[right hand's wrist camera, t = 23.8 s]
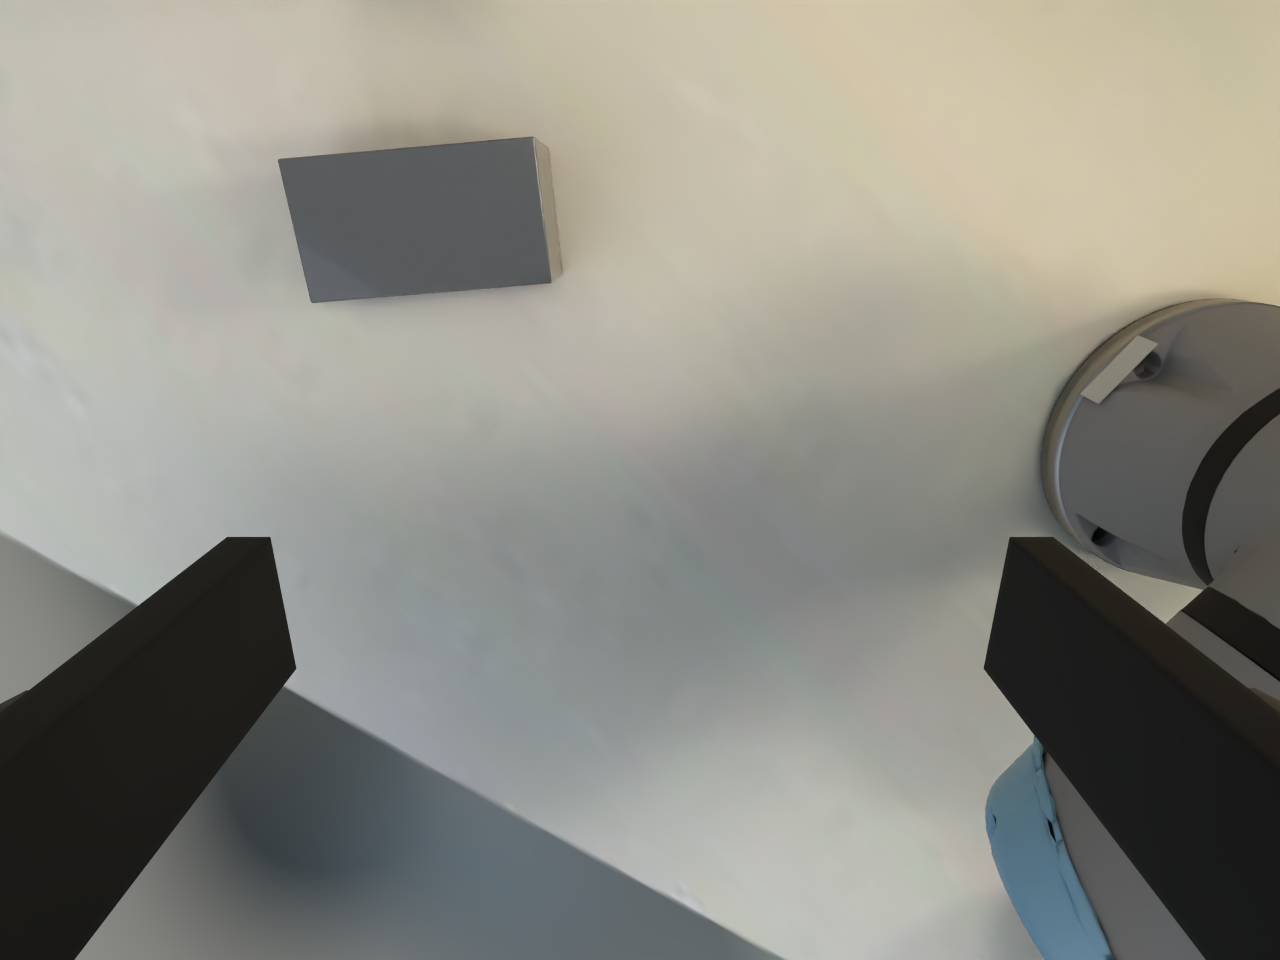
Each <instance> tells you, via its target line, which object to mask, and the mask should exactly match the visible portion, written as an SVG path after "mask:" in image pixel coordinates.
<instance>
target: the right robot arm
mask: <svg viewBox="0 0 1280 960" xmlns="http://www.w3.org/2000/svg"><path fill="white" fill-rule="evenodd" d="M1041 475H1042V482H1043V488H1044V492H1045V495H1046V498H1047V501H1048V504H1049V506H1050V508H1051V510H1052V512H1053V514H1054V516H1055V517H1056V519H1057V521H1058V522H1059V523H1060V524H1061V526H1062V527H1063V528H1064V529H1065V530H1066V531H1067V533H1068V534H1069V535H1070V536H1071V537H1073V538H1074V539H1075V540H1076V541H1078V542H1079V543H1080V544H1082V545H1083V546H1084V547H1086V548H1087V549H1088V550H1090V551H1091V552H1092V553H1094V554H1095V555H1096V556H1098V557H1099V558H1101V559H1103V560H1104V561H1106V562H1108V563H1110V564H1112V565H1114V566H1116V567H1118V568H1121V569H1124V570H1127V571H1130V572H1134V573H1137V574H1141V575H1145V576H1149V577H1153V578H1157V579H1161V580H1165V581H1170V582H1174V583H1178V584H1182V585H1186V586H1190V587H1194V588H1198V589H1202V590H1203V591H1202V592H1201V593H1200V594H1199V595H1198V596H1197V597H1196V598H1195V599H1193V600H1192V601H1191V602H1190V603H1189V604H1188V605H1187V606H1186V607H1185V608H1183V609H1182V610H1181V611H1179V612H1178V613H1177V614H1176V615H1175V616H1174V617H1173V618H1172V619H1170V620H1169V621H1168V622H1167V623H1166V624H1165V623H1163V622H1162V621H1161V620H1159V619H1158V618H1157V617H1155V616H1154V615H1153V614H1152V613H1150V612H1149V611H1148V610H1146V609H1145V608H1144V607H1143V606H1141V605H1140V604H1139V603H1137V602H1136V601H1135V600H1134V599H1132V598H1131V597H1130V596H1128V595H1127V594H1126V593H1124V592H1123V591H1122V590H1121V589H1119V588H1118V587H1117V586H1115V585H1114V584H1113V583H1112V582H1110V581H1109V580H1108V579H1106V578H1105V577H1104V576H1102V575H1101V574H1100V573H1099V572H1097V571H1096V570H1095V569H1093V568H1092V567H1091V566H1090V565H1088V564H1087V563H1086V562H1084V561H1083V560H1082V559H1081V558H1079V557H1078V556H1077V555H1075V554H1074V553H1073V552H1071V551H1070V550H1069V549H1068V548H1066V547H1065V546H1064V545H1062V544H1061V543H1060V542H1059V541H1057V540H1056V539H1055V538H1053V537H1010V538H1009V543H1008V548H1007V554H1006V559H1005V564H1004V569H1003V574H1002V579H1001V584H1000V589H999V594H998V599H997V604H996V609H995V614H994V619H993V624H992V629H991V634H990V639H989V644H988V650H987V655H986V660H985V665H984V670H985V671H986V672H987V674H988V675H989V676H990V677H991V679H992V680H993V681H994V683H995V684H996V685H997V687H998V688H999V689H1000V691H1001V692H1002V693H1003V695H1004V696H1005V697H1006V698H1007V700H1008V701H1009V702H1010V704H1011V705H1012V706H1013V708H1014V709H1015V710H1016V712H1017V713H1018V714H1019V716H1020V717H1021V718H1022V719H1023V721H1024V722H1025V723H1026V725H1027V726H1028V727H1029V729H1030V730H1031V731H1032V733H1033V734H1034V735H1035V736H1034V742H1033V743H1032V744H1031V745H1030V747H1029V748H1028V749H1027V750H1026V751H1025V752H1024V753H1023V754H1022V755H1021V756H1020V757H1019V758H1018V759H1017V760H1016V761H1015V762H1014V763H1013V764H1012V765H1011V766H1010V767H1009V768H1008V769H1007V770H1006V771H1005V772H1004V773H1003V774H1002V775H1001V776H1000V777H999V778H998V779H997V780H996V782H995V783H994V784H993V786H992V788H991V790H990V792H989V796H988V799H987V803H986V812H985V818H986V830H987V834H988V837H989V841H990V844H991V849H992V855H993V858H994V861H995V864H996V867H997V869H998V872H999V875H1000V877H1001V880H1002V882H1003V884H1004V887H1005V889H1006V891H1007V893H1008V895H1009V897H1010V899H1011V901H1012V903H1013V905H1014V907H1015V909H1016V911H1017V913H1018V915H1019V917H1020V919H1021V920H1022V922H1023V924H1024V926H1025V928H1026V929H1027V931H1028V933H1029V935H1030V936H1031V938H1032V940H1033V941H1034V943H1035V945H1036V946H1037V948H1038V949H1039V951H1040V953H1041V954H1042V956H1043V957H1044V959H1045V960H1280V307H1279V306H1275V305H1269V304H1263V303H1256V302H1249V301H1241V300H1234V299H1205V300H1198V301H1191V302H1187V303H1183V304H1178V305H1175V306H1172V307H1169V308H1166V309H1163V310H1160V311H1158V312H1155V313H1153V314H1151V315H1148V316H1146V317H1144V318H1142V319H1140V320H1138V321H1137V322H1135V323H1133V324H1131V325H1130V326H1128V327H1126V328H1125V329H1123V330H1122V331H1120V332H1119V333H1117V334H1116V335H1115V336H1113V337H1112V338H1111V339H1109V340H1108V341H1107V342H1105V343H1104V344H1103V345H1102V346H1101V347H1100V348H1099V349H1098V350H1096V351H1095V352H1094V353H1093V354H1092V355H1091V356H1090V357H1089V358H1088V359H1087V360H1086V361H1085V363H1084V364H1083V365H1082V366H1081V367H1080V368H1079V370H1078V371H1077V372H1076V373H1075V374H1074V376H1073V377H1072V379H1071V380H1070V381H1069V383H1068V384H1067V386H1066V387H1065V389H1064V391H1063V392H1062V394H1061V396H1060V398H1059V399H1058V401H1057V403H1056V405H1055V407H1054V410H1053V412H1052V414H1051V417H1050V420H1049V422H1048V425H1047V428H1046V432H1045V436H1044V440H1043V447H1042V454H1041ZM295 670H296V665H295V660H294V655H293V650H292V644H291V639H290V634H289V629H288V624H287V619H286V614H285V609H284V604H283V599H282V594H281V589H280V584H279V579H278V574H277V569H276V564H275V559H274V554H273V548H272V543H271V538H270V537H227V538H225V539H224V540H223V541H221V542H220V543H219V544H218V545H216V546H215V547H214V548H212V549H211V550H210V551H209V552H207V553H206V554H205V555H203V556H202V557H201V558H199V559H198V560H197V561H196V562H194V563H193V564H192V565H190V566H189V567H188V568H187V569H185V570H184V571H183V572H181V573H180V574H179V575H178V576H176V577H175V578H174V579H172V580H171V581H170V582H168V583H167V584H166V585H165V586H163V587H162V588H161V589H159V590H158V591H157V592H156V593H154V594H153V595H152V596H150V597H149V598H148V599H146V600H145V601H144V602H143V603H141V604H140V605H139V606H137V607H136V608H135V609H134V610H132V611H131V612H130V613H128V614H127V615H126V616H125V617H123V618H122V619H121V620H119V621H118V622H117V623H115V624H114V625H113V626H112V627H110V628H109V629H108V630H106V631H105V632H104V633H103V634H101V635H100V636H99V637H97V638H96V639H95V640H94V641H92V642H91V643H90V644H88V645H87V646H86V647H85V648H83V649H82V650H81V651H79V652H78V653H77V654H75V655H74V656H73V657H72V658H70V659H69V660H68V661H66V662H65V663H64V664H62V665H61V666H60V667H59V668H57V669H56V670H55V671H53V672H52V673H51V674H50V675H48V676H47V677H46V678H44V679H43V680H42V681H41V682H39V683H38V684H37V685H35V686H34V687H33V688H32V689H30V690H26V691H24V692H22V693H21V694H19V695H17V696H15V697H13V698H11V699H9V700H7V701H5V702H3V703H1V704H0V960H75V958H76V957H77V956H78V954H79V953H80V952H81V950H82V949H83V948H84V946H85V945H86V944H87V942H88V941H89V940H90V939H91V937H92V936H93V935H94V933H95V932H96V931H97V929H98V928H99V927H100V925H101V924H102V923H103V921H104V920H105V919H106V918H107V916H108V915H109V914H110V912H111V911H112V910H113V908H114V907H115V906H116V904H117V903H118V902H119V900H120V899H121V898H122V897H123V895H124V894H125V893H126V891H127V890H128V889H129V887H130V886H131V885H132V883H133V882H134V881H135V879H136V878H137V877H138V876H139V874H140V873H141V872H142V870H143V869H144V868H145V866H146V865H147V864H148V862H149V861H150V860H151V859H152V857H153V856H154V855H155V853H156V852H157V851H158V849H159V848H160V847H161V845H162V844H163V843H164V841H165V840H166V839H167V837H168V836H169V835H170V833H171V832H172V831H173V830H174V828H175V827H176V826H177V824H178V823H179V822H180V820H181V819H182V818H183V817H184V815H185V814H186V813H187V811H188V810H189V809H190V807H191V806H192V805H193V803H194V802H195V801H196V799H197V798H198V797H199V796H200V794H201V793H202V792H203V790H204V789H205V788H206V786H207V785H208V784H209V782H210V781H211V780H212V778H213V777H214V776H215V775H216V773H217V772H218V771H219V769H220V768H221V767H222V765H223V764H224V763H225V761H226V760H227V759H228V757H229V756H230V755H231V753H232V752H233V751H234V750H235V748H236V747H237V746H238V744H239V743H240V742H241V740H242V739H243V738H244V736H245V735H246V734H247V733H248V731H249V730H250V729H251V727H252V726H253V725H254V723H255V722H256V721H257V719H258V718H259V717H260V716H261V714H262V713H263V712H264V710H265V709H266V708H267V706H268V705H269V704H270V702H271V701H272V700H273V698H274V697H275V696H276V695H277V693H278V692H279V691H280V689H281V688H282V687H283V685H284V684H285V683H286V681H287V680H288V679H289V677H290V676H291V675H292V674H293V672H294V671H295Z"/></svg>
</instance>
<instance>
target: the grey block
mask: <svg viewBox="0 0 1280 960" xmlns="http://www.w3.org/2000/svg"><path fill="white" fill-rule="evenodd" d="M278 163H279V167H280V171H281V176H282V180H283V184H284V188H285V193H286V197H287V201H288V205H289V210H290V214H291V218H292V223H293V227H294V231H295V235H296V240H297V244H298V248H299V253H300V257H301V261H302V265H303V270H304V274H305V278H306V283H307V287H308V291H309V295H310V300H311V302H312V303H319V302H331V301H343V300H356V299H368V298H380V297H392V296H404V295H416V294H428V293H440V292H453V291H465V290H477V289H489V288H501V287H513V286H525V285H538V284H550V283H552V282H553V281H555V280H556V279H557V278H559V277H560V276H561V275H562V274H563V272H562V264H561V255H560V246H559V237H558V228H557V219H556V210H555V201H554V193H553V184H552V175H551V166H550V157H549V149H548V147H546V146H545V145H544V144H542V143H541V142H540V141H539V140H537V139H536V138H535V137H522V138H511V139H500V140H488V141H477V142H466V143H454V144H443V145H431V146H420V147H409V148H397V149H386V150H375V151H363V152H352V153H340V154H329V155H318V156H306V157H295V158H283V159H279V160H278Z"/></svg>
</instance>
